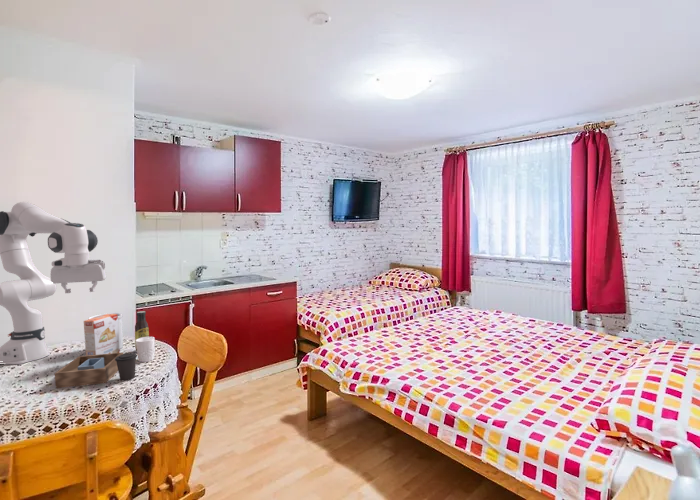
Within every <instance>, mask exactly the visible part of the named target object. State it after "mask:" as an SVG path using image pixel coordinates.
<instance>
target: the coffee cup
mask: <svg viewBox="0 0 700 500" xmlns="http://www.w3.org/2000/svg"><path fill="white" fill-rule="evenodd" d="M137 358H138V355H137V353H133V352H130V353H123V355H120V356H118V357H116V358H115V361H116V362H117V367H118V372H117V373H118V376H119V380H120V381H122V382H126V381H131V380H133V379H135V378H136V367H137V366H136V363H137Z"/></svg>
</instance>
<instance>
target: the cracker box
mask: <svg viewBox="0 0 700 500" xmlns="http://www.w3.org/2000/svg"><path fill="white" fill-rule="evenodd" d="M105 314H106V315H103V316H99V317H96V318H92V319H89V320H88V319H85V320H83V333H84V334H83V335H84V346H85V347H84V349H85V356H88V355H99V354H111V353H121V352H120V350H121V349H119V333H118V316H117V314H107V313H105Z"/></svg>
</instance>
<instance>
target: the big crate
mask: <svg viewBox="0 0 700 500" xmlns="http://www.w3.org/2000/svg"><path fill="white" fill-rule="evenodd" d="M123 354H124V352H120V353H111V354H99V355H88V356H86V355H79V356H77V357H76V358H74V359H73V360H72V361H70V362H69V363H67V364H65V366H63V367H61V368H60V369H59V370H57V371H56V372H54V384H55V389H61V388H62V389H63V388H72V387H80V386H89V385H102V384H107V383H108V382H109V381H110V380H111V379H112V378H113V377H114V376H115V375H116V374H117V373H119V372H118V367H117V362H116V361H115V358H116V357H118V356H120V355H123ZM93 358H104V366H105V367H104V368H98V369H88V370H78V368H77V367H79V366H80V365H81V364H82V363H84V362H85V361H86V360H88V359H93Z"/></svg>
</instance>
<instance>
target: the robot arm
mask: <svg viewBox="0 0 700 500" xmlns="http://www.w3.org/2000/svg"><path fill="white" fill-rule="evenodd" d="M37 234H50V235H49V236H48V237H47V246H48V249H50V251H51V252H53V253H54V254H55V253H56V254H63V255H64V257H62V258H59V259H57V260H53V261H52V262H51V266H52V267H51V269H50V276H47V275H45V274H43V273H42V272H41V271H40V270H39V269H38V268H37V267H36V265H35V263H34V260H33V258H32V255H31V251H30V247H29V245H28V242H27V238H28V236H29V237H34V236H36V235H37ZM98 241H99V240H98V237H97V235H96V234H95V232H93V231H92V230H90V229H87V228H86V225H85V224H83V223H79V222H70V221H68V220H66V219H63V218H62V217H61V218H60V217H59V216H56V215H55V214H52V213H50V212H47V211H46V210H44V209H43V208H41V207H40V206H38V205H36V204H33V203H32V202H29V201H20V202H16V203H15V204H14V205H12V207H11V210H10V211H0V259H1V263H2V267H3V269H4V270H5V271H6V272H7V273H10V274H13V275H16V276H18V277H19V279H16V280H7V281H4V282H0V306H1V307H3V308H5V309H6V310H7V311H8V313H9V314H10V316H11V319H12V326H13V331H12V332H9V333H8V334H7V337H10V338H9V339H8V341H6V342H5V343H3V344H2V345H1V346H0V361H3V362H0V363H6V364H5V365H21V364H26V363H30V362H31V361H32V362H33V361H37V360H40V359H43V358H45V357H47V356H49V355H50V354H51V352H50V351H49V349H48V346H47V343H46V332H45V331H46V330H45V326H44V324H43V323H44V321H43V314H42V313H43V312H41V310H39V309H37V308H34V307H30V306H29V305H28V302H29V301H30V302H31V301H36V300H42V299H45V298H49V297H50V296H53V295H54V294H55V293H56V290H57V284H60V285H61V287H62V288H63V290H64V293H65V294H71V293H72V290H71V288H69V287H68V283H69V284H74V283H86V282H91V284H92V286H91V287H89V289H88V290H89V292H90V293H94V292H96V286H97V285H98V282H103V281H105V280H106V279H107V274H106V273H107V272H106V269H105V268H106V264H105V262H104V261H103V260H101V259H90V258H91V257H90V255H91V254H90V252H92V251H93V250H95V248H97V245H98V244H99V242H98Z"/></svg>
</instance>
